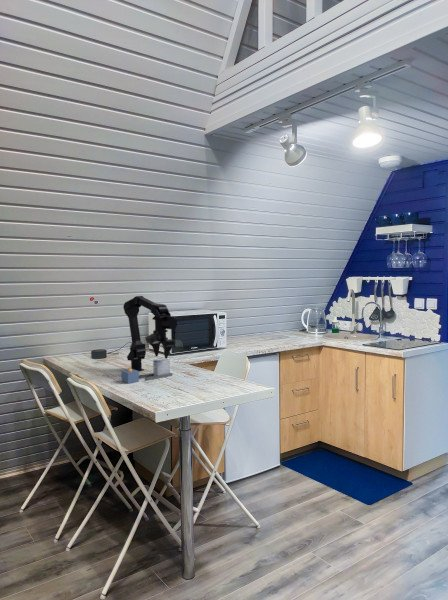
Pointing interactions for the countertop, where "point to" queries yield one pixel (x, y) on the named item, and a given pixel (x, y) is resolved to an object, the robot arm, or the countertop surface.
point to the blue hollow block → (130, 376)
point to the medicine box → (161, 366)
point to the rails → (154, 376)
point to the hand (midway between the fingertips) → (161, 357)
